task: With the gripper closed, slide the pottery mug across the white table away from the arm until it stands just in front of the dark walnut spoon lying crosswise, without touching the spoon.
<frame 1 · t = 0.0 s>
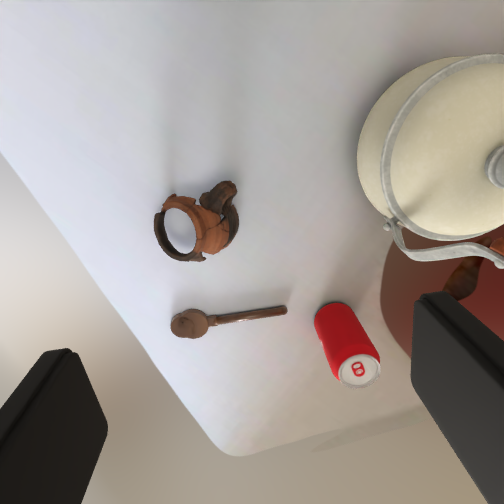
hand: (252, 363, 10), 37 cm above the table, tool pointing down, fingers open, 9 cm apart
kettle: (425, 135, 44), on the table
spoon: (230, 316, 52), on the table
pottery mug: (205, 211, 46), on the table
beverage can: (332, 316, 53), on the table
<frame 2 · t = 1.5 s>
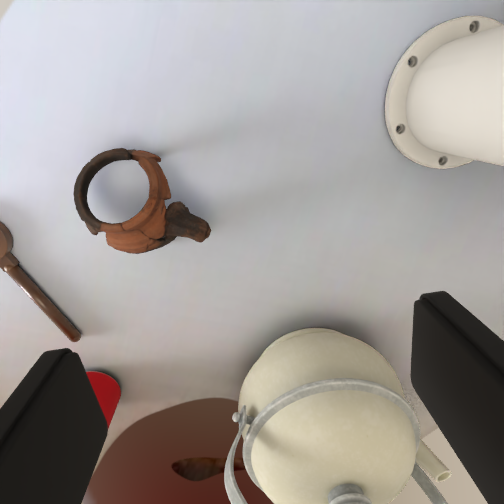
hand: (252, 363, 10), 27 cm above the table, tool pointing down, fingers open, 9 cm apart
kettle: (320, 374, 45), on the table
spoon: (28, 280, 37), on the table
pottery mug: (154, 202, 35), on the table
beverage can: (97, 385, 43), on the table
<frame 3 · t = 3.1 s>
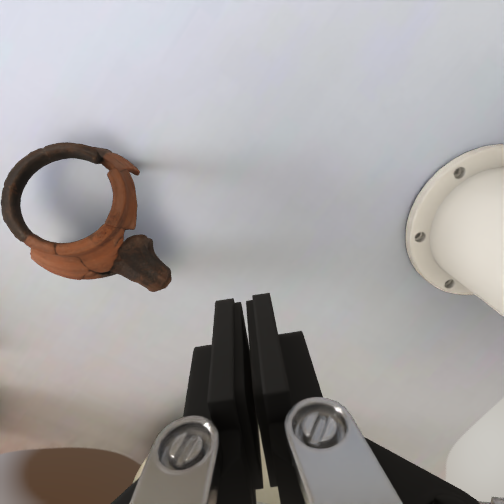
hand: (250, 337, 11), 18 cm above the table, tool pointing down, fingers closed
kettle: (239, 456, 39), on the table
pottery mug: (114, 217, 28), on the table
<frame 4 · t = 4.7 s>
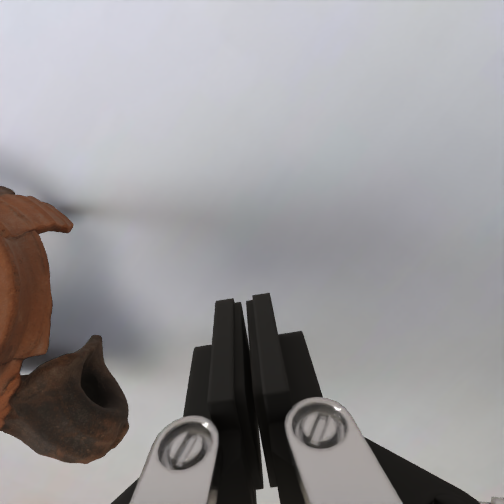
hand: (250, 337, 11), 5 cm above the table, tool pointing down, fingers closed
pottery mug: (38, 296, 16), on the table
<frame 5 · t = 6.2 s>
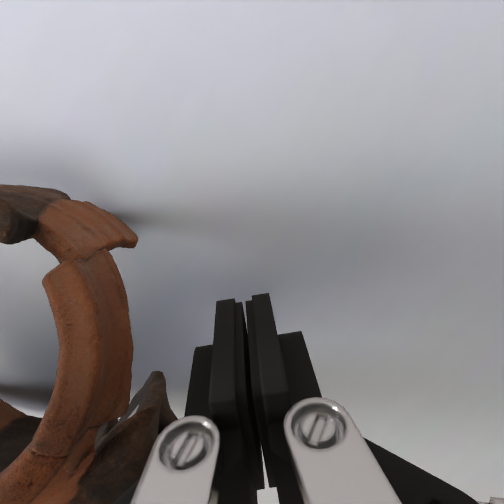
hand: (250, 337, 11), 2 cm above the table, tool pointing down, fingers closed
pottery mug: (82, 323, 13), on the table, touching gripper
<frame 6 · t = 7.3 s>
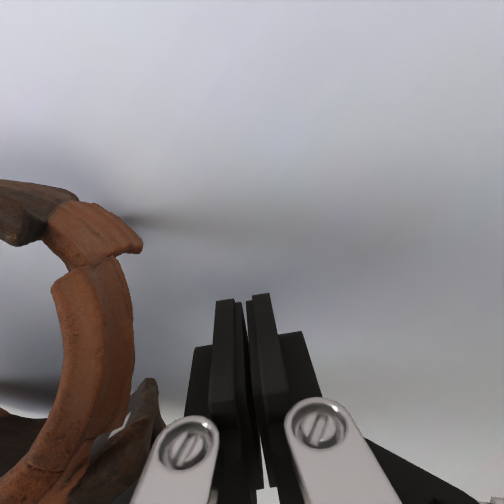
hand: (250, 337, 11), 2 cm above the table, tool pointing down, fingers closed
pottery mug: (76, 324, 13), on the table, touching gripper
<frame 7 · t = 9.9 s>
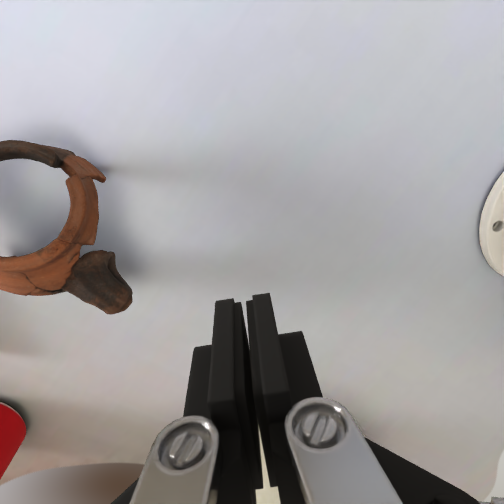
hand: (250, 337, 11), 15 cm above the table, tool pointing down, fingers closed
kettle: (286, 464, 36), on the table
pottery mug: (73, 225, 25), on the table
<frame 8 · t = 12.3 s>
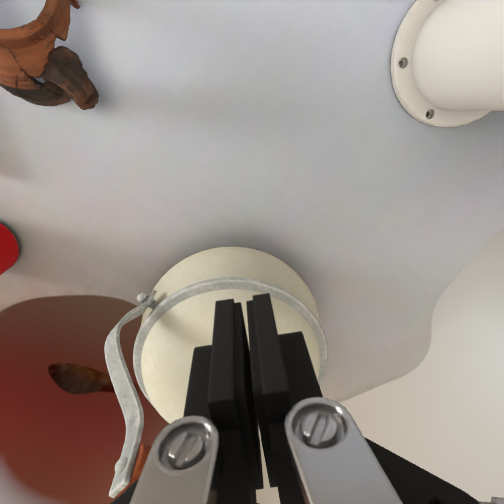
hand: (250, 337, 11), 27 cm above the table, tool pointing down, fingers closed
kettle: (241, 309, 42), on the table
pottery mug: (55, 54, 31), on the table
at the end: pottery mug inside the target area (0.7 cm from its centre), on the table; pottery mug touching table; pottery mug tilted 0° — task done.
